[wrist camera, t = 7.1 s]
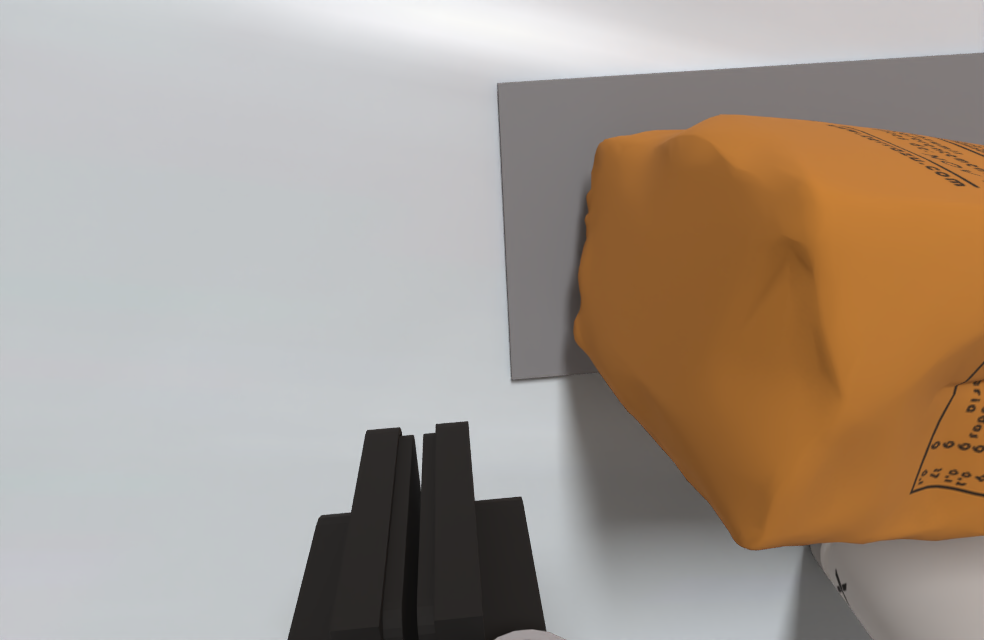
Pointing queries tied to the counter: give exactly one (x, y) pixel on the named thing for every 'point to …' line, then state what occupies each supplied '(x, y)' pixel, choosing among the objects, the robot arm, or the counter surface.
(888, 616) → the travel mug
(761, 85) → the mat
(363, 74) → the counter surface
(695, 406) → the coffee package
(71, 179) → the counter surface
